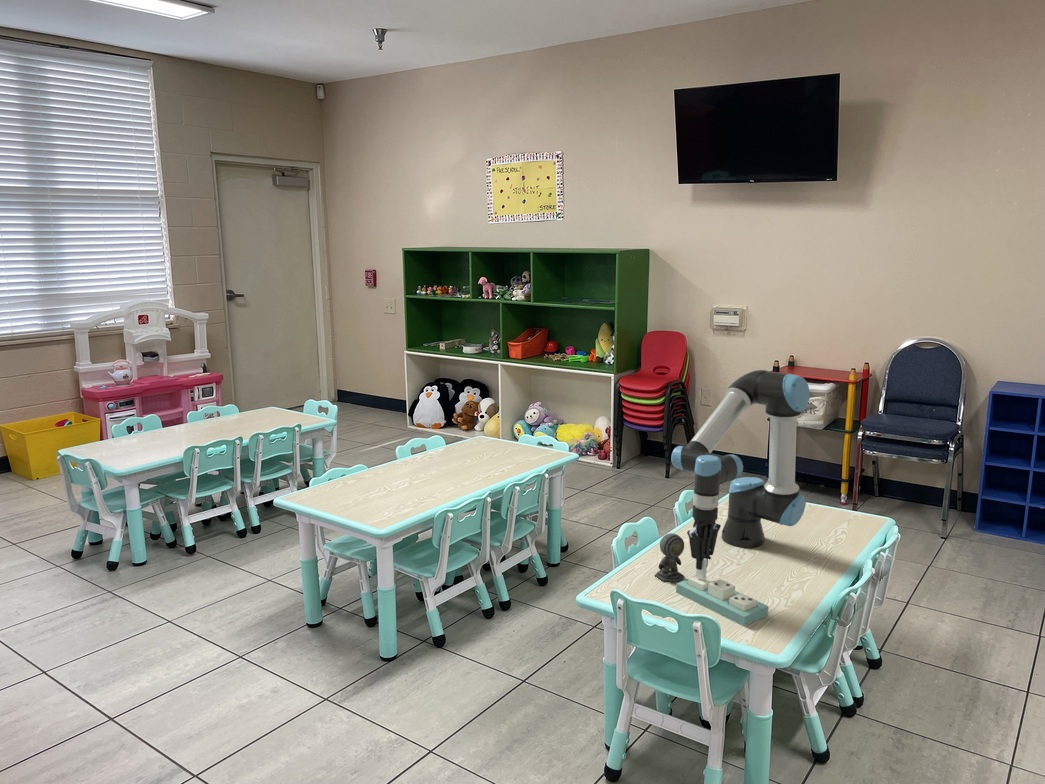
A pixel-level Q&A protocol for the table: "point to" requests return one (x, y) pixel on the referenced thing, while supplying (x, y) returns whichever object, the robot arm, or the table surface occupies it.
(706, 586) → the tile
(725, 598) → the tile
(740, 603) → the tile
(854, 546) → the table surface
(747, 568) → the table surface
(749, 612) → the board
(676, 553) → the figurine
